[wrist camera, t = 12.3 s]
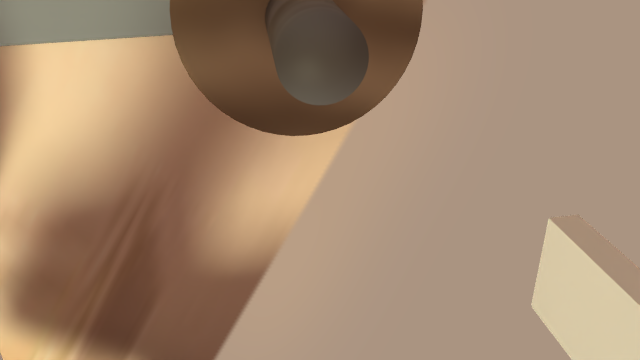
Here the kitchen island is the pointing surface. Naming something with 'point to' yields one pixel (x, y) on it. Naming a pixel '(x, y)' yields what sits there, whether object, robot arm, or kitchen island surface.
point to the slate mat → (81, 20)
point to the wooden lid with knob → (295, 57)
